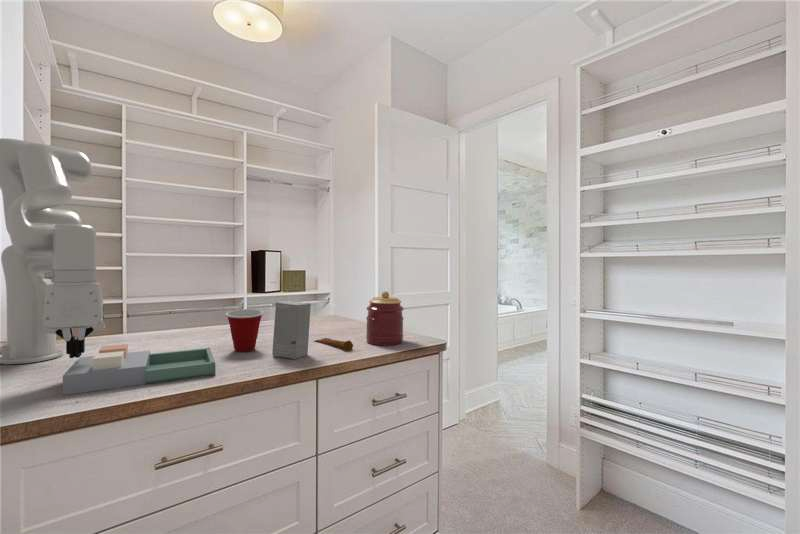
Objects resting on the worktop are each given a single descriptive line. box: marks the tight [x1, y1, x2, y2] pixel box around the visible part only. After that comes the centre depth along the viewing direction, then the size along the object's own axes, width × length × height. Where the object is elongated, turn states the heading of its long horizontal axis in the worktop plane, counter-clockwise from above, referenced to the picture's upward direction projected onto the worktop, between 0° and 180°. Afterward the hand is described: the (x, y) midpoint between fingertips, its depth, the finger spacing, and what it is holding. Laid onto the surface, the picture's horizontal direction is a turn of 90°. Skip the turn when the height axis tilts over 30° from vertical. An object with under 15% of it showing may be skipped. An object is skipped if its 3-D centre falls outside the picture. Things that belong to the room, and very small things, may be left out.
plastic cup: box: [225, 308, 264, 353], centre depth 114 cm, size 11×11×12 cm
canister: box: [365, 291, 405, 346], centre depth 128 cm, size 13×13×18 cm
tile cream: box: [92, 351, 124, 370], centre depth 82 cm, size 5×5×2 cm
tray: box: [145, 347, 216, 385], centre depth 93 cm, size 14×17×3 cm
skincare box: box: [272, 300, 312, 360], centre depth 109 cm, size 8×7×16 cm
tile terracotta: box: [98, 343, 129, 359], centre depth 89 cm, size 5×5×2 cm
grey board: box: [62, 350, 151, 396], centre depth 86 cm, size 14×16×4 cm
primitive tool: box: [313, 337, 354, 352], centre depth 123 cm, size 19×6×4 cm, turn 43°
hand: (75, 356), depth 86 cm, fingers closed
